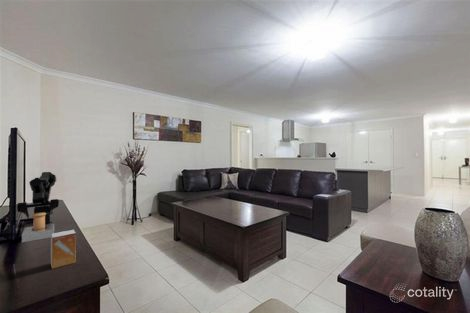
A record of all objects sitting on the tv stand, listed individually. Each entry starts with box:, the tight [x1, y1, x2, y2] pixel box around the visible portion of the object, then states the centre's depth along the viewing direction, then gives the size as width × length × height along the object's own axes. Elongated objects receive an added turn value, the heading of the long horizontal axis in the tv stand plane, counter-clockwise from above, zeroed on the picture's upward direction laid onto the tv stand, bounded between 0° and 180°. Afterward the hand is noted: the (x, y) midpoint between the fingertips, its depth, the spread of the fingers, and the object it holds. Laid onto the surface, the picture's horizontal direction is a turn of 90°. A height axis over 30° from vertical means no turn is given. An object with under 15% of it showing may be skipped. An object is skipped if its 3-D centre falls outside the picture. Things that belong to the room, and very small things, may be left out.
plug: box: [32, 213, 46, 231], centre depth 126 cm, size 6×6×13 cm
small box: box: [50, 229, 77, 270], centre depth 94 cm, size 8×6×13 cm
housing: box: [21, 223, 55, 243], centre depth 126 cm, size 13×13×4 cm
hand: (39, 216), depth 129 cm, fingers open, 9 cm apart
